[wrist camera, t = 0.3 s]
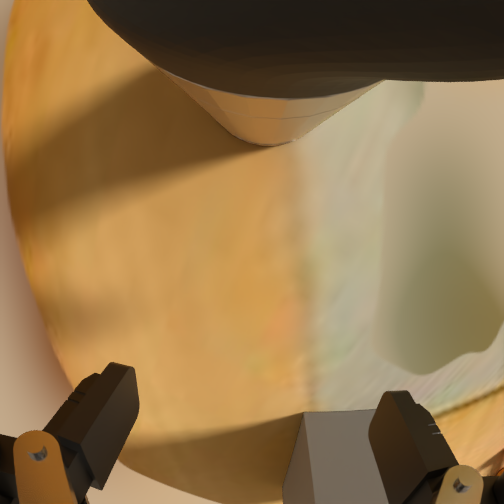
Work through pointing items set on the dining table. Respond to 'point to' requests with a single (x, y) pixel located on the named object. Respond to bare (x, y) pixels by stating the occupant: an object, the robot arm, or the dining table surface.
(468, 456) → the dining table surface
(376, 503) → the stand
